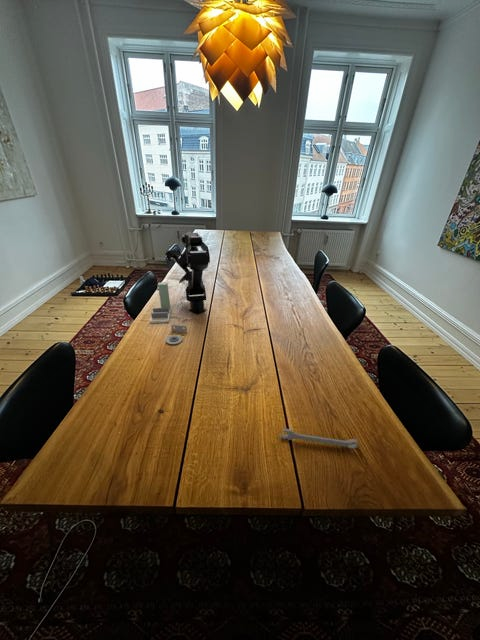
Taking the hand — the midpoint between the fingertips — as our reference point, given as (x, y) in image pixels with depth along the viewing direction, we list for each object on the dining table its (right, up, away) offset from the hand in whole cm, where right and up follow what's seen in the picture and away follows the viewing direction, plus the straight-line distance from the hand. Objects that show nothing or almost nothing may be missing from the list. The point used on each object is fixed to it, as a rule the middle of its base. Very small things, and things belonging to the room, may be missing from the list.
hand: (173, 276), depth 133 cm
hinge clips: (-2, -21, -15) cm, 26 cm away
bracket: (+8, -30, -28) cm, 42 cm away
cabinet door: (-2, -16, -6) cm, 18 cm away
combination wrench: (+54, -55, -66) cm, 102 cm away
